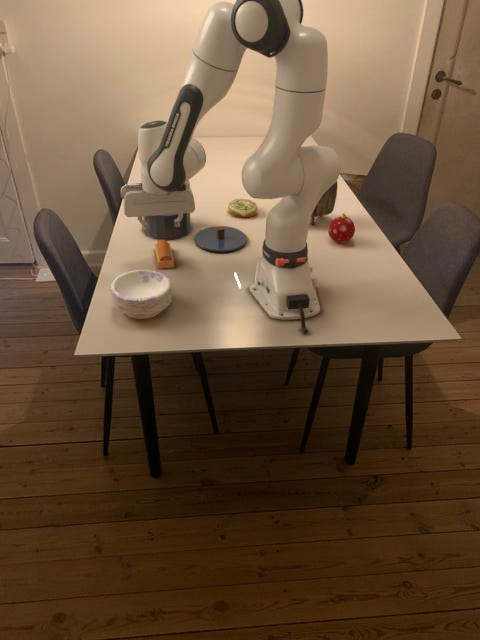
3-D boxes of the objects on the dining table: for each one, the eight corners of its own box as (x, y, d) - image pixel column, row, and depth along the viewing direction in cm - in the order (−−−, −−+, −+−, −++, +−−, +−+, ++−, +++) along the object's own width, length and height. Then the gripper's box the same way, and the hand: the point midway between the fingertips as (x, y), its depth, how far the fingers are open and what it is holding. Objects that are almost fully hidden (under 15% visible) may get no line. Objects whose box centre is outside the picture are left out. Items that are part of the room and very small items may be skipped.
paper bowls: (174, 292, 135) (172, 268, 130) (170, 326, 123) (168, 300, 118) (119, 292, 134) (115, 267, 129) (109, 326, 122) (104, 300, 117)
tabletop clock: (323, 214, 177) (333, 145, 162) (334, 225, 170) (345, 154, 155) (286, 219, 173) (292, 149, 158) (296, 230, 166) (304, 158, 151)
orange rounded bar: (174, 267, 146) (173, 255, 143) (158, 268, 145) (157, 257, 142) (170, 249, 154) (169, 238, 152) (155, 250, 153) (154, 239, 151)
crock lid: (251, 251, 154) (251, 237, 152) (199, 255, 151) (198, 242, 148) (240, 227, 167) (240, 214, 165) (191, 231, 164) (191, 218, 161)
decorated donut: (246, 221, 171) (246, 211, 169) (222, 213, 176) (222, 204, 173) (262, 211, 178) (263, 202, 175) (238, 204, 183) (238, 194, 180)
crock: (194, 237, 161) (193, 213, 156) (145, 241, 158) (143, 217, 153) (187, 217, 173) (186, 194, 168) (142, 220, 170) (140, 197, 165)
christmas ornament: (333, 249, 157) (337, 220, 151) (322, 236, 163) (326, 209, 157) (357, 246, 159) (362, 217, 153) (345, 234, 165) (350, 206, 159)
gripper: (119, 189, 130) (125, 235, 139) (195, 184, 134) (196, 229, 143) (119, 180, 135) (124, 225, 143) (192, 176, 139) (193, 220, 147)
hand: (161, 227), depth 143 cm, fingers open, 8 cm apart
